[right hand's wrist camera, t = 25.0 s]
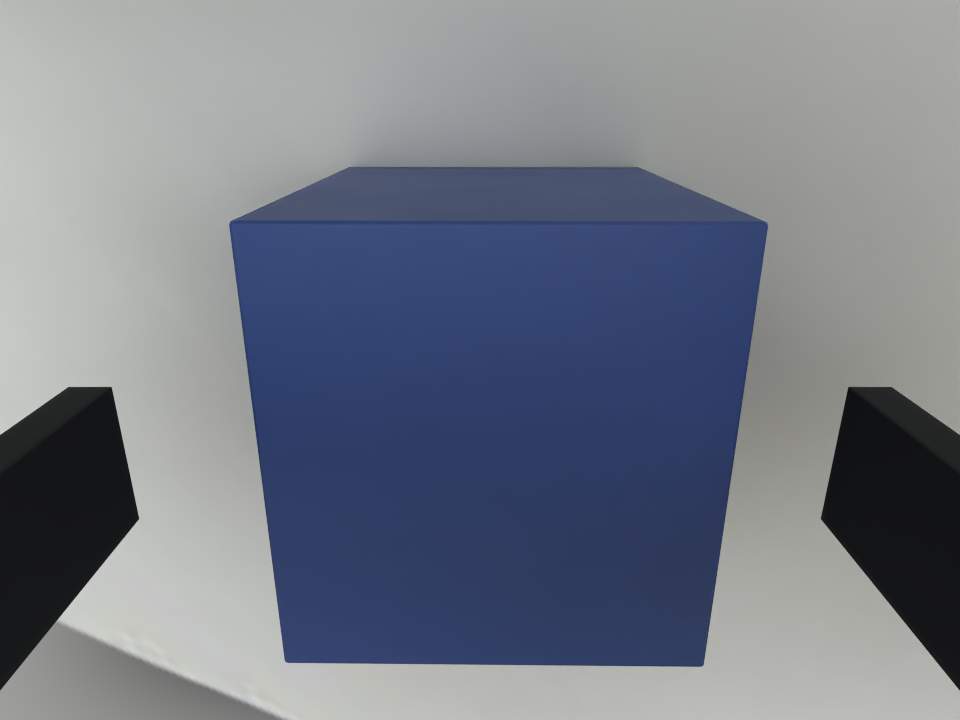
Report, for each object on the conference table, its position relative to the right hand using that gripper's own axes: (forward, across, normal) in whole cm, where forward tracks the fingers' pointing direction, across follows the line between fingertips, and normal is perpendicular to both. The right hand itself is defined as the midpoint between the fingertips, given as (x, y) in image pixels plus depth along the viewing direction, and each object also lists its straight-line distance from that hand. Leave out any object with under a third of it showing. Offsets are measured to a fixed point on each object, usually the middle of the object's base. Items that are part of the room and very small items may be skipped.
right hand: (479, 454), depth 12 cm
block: (+9, 0, 0) cm, 9 cm away
